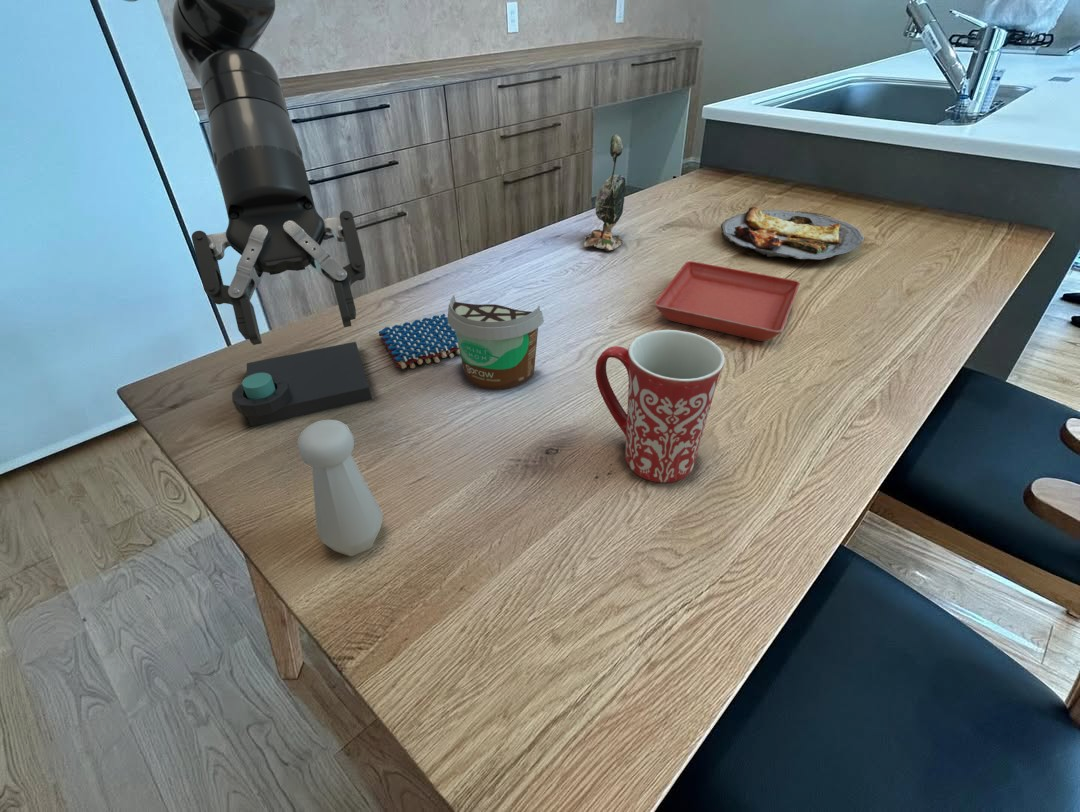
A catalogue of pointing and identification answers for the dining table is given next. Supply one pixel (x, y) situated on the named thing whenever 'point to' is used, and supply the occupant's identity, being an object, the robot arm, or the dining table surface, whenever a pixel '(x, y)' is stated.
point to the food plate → (791, 233)
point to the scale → (306, 384)
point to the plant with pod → (609, 205)
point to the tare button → (258, 386)
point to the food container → (495, 343)
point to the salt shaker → (339, 489)
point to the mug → (663, 399)
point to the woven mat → (420, 341)
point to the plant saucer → (728, 300)
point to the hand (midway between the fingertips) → (302, 332)
